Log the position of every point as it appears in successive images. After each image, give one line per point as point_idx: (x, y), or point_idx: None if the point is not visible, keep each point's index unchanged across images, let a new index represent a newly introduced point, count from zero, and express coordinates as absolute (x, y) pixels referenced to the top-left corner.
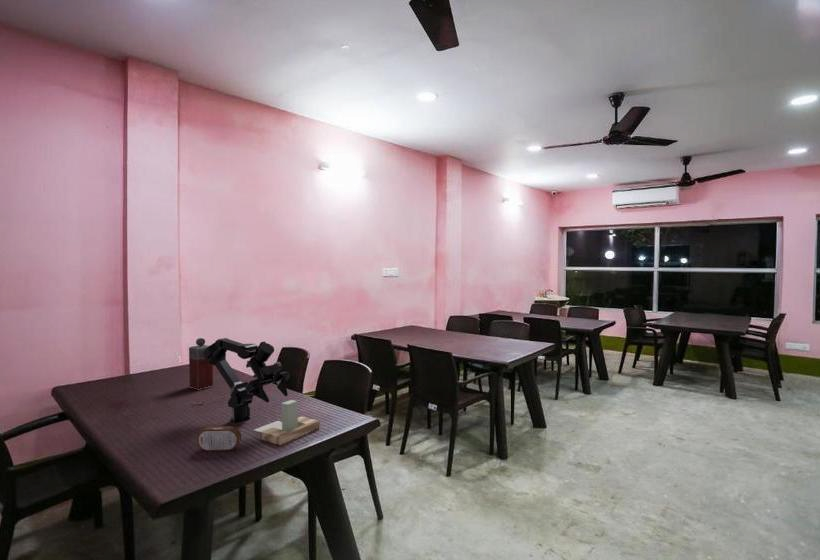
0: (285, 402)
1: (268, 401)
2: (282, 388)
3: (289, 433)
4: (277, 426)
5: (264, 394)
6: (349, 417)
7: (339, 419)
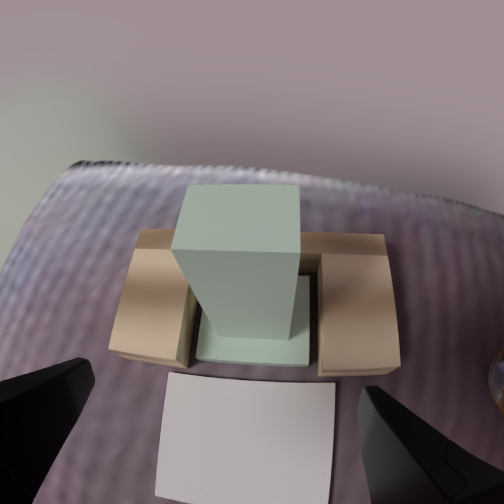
0: (264, 236)
1: (374, 387)
2: (22, 434)
3: (332, 232)
4: (223, 440)
5: (432, 439)
6: (45, 229)
7: (61, 245)
